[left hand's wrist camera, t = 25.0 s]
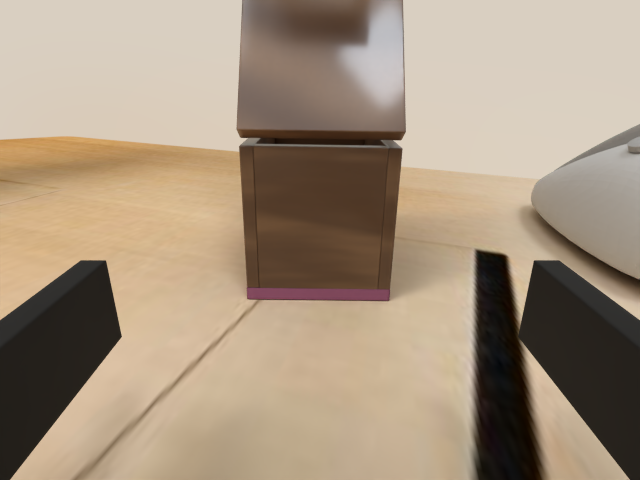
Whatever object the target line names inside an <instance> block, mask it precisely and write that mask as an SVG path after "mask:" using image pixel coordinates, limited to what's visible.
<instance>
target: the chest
mask: <svg viewBox="0 0 640 480" xmlns="http://www.w3.org/2000/svg"><path fill="white" fill-rule="evenodd" d="M239 150H240V168H241V186H242V203H243V221H244V238H245V256H246V274H247V298H248V299H306V300H389V296H390V281H391V270H392V259H393V248H394V237H395V225H396V214H397V203H398V192H399V181H400V170H401V159H402V148H401V147H400V146H399V145H398V144H397V143H395V142H394V141H393V140H351V139H288V138H248V139H247V140H246V141H245V142H243V143H242V144H241V145H240V146H239Z"/></svg>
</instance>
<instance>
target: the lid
mask: <svg viewBox="0 0 640 480" xmlns="http://www.w3.org/2000/svg"><path fill="white" fill-rule="evenodd" d="M237 131H238V133H239V136H240V137H241V138H288V139H351V140H402V138H403V136H404V134H405V132H406V123H405V77H404V30H403V0H242V22H241V43H240V66H239V88H238V110H237Z"/></svg>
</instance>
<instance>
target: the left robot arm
mask: <svg viewBox="0 0 640 480" xmlns="http://www.w3.org/2000/svg"><path fill="white" fill-rule="evenodd" d="M121 337H122V336H121V331H120V326H119V321H118V317H117V312H116V307H115V302H114V297H113V292H112V288H111V283H110V278H109V273H108V268H107V263H106V261H80V262H78V263H77V264H76V265H74V266H73V267H72V268H70V269H69V270H67V271H66V272H65V273H63V274H62V275H61V276H59V277H58V278H57V279H55V280H54V281H53V282H51V283H50V284H49V285H47V286H46V287H45V288H43V289H42V290H41V291H39V292H38V293H37V294H35V295H34V296H32V297H31V298H30V299H28V300H27V301H26V302H24V303H23V304H22V305H20V306H19V307H18V308H16V309H15V310H14V311H12V312H11V313H10V314H8V315H7V316H6V317H4V318H3V319H1V320H0V480H10V479H11V478H12V476H13V475H14V474H15V473H16V471H17V470H18V469H19V467H20V466H21V465H22V464H23V462H24V461H25V460H26V459H27V457H28V456H29V455H30V453H31V452H32V451H33V450H34V448H35V447H36V446H37V444H38V443H39V442H40V441H41V439H42V438H43V437H44V435H45V434H46V433H47V432H48V430H49V429H50V428H51V427H52V425H53V424H54V423H55V421H56V420H57V419H58V418H59V416H60V415H61V414H62V412H63V411H64V410H65V409H66V407H67V406H68V405H69V403H70V402H71V401H72V400H73V398H74V397H75V396H76V395H77V393H78V392H79V391H80V389H81V388H82V387H83V386H84V384H85V383H86V382H87V380H88V379H89V378H90V377H91V375H92V374H93V373H94V372H95V370H96V369H97V368H98V366H99V365H100V364H101V363H102V361H103V360H104V359H105V357H106V356H107V355H108V354H109V352H110V351H111V350H112V348H113V347H114V346H115V345H116V343H117V342H118V341H119V340H120V338H121ZM518 337H519V338H520V340H521V341H522V342H523V343H524V345H525V346H526V347H527V348H528V350H529V351H530V352H531V354H532V355H533V356H534V357H535V359H536V360H537V361H538V363H539V364H540V365H541V366H542V368H543V369H544V370H545V372H546V373H547V374H548V375H549V377H550V378H551V379H552V380H553V382H554V383H555V384H556V386H557V387H558V388H559V389H560V391H561V392H562V393H563V395H564V396H565V397H566V398H567V400H568V401H569V402H570V403H571V405H572V406H573V407H574V409H575V410H576V411H577V412H578V414H579V415H580V416H581V418H582V419H583V420H584V421H585V423H586V424H587V425H588V427H589V428H590V429H591V430H592V432H593V433H594V434H595V435H596V437H597V438H598V439H599V441H600V442H601V443H602V444H603V446H604V447H605V448H606V450H607V451H608V452H609V453H610V455H611V456H612V457H613V459H614V460H615V461H616V462H617V464H618V465H619V466H620V467H621V469H622V470H623V471H624V473H625V474H626V475H627V476H628V478H629V479H630V480H640V320H639V319H637V318H636V317H634V316H633V315H632V314H630V313H629V312H628V311H626V310H625V309H624V308H622V307H621V306H620V305H618V304H617V303H616V302H614V301H613V300H612V299H610V298H609V297H608V296H606V295H605V294H603V293H602V292H601V291H599V290H598V289H597V288H595V287H594V286H593V285H591V284H590V283H589V282H587V281H586V280H585V279H583V278H582V277H581V276H579V275H578V274H577V273H575V272H574V271H573V270H571V269H570V268H568V267H567V266H566V265H564V264H563V263H562V262H560V261H534V263H533V268H532V273H531V278H530V283H529V288H528V292H527V297H526V302H525V307H524V312H523V317H522V321H521V326H520V331H519V336H518Z"/></svg>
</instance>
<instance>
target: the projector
mask: <svg viewBox="0 0 640 480" xmlns="http://www.w3.org/2000/svg"><path fill="white" fill-rule="evenodd" d="M531 202H532V205H533V206H534V208H535V209H536V211H537V212H538V213H539V214H540V215H541V216H542V218H543V219H544V220H545V221H547V222H548V223H549V224H550V225H551V226H552V227H553V228H554V229H556V230H557V231H558V232H559V233H561V234H562V235H563V236H565V237H566V238H567V239H569V240H570V241H572V242H573V243H575V244H576V245H577V246H579V247H580V248H582V249H583V250H585V251H586V252H588V253H590V254H591V255H593V256H595V257H596V258H598V259H600V260H601V261H603V262H605V263H606V264H608V265H610V266H612V267H614V268H616V269H617V270H619V271H621V272H623V273H625V274H628V275H630V276H632V277H634V278H637V279H639V280H640V124H639V125H637V126H635V127H633V128H631V129H628V130H626V131H624V132H622V133H620V134H618V135H616V136H614V137H612V138H610V139H608V140H606V141H604V142H603V143H601V144H599V145H597V146H595V147H593V148H591V149H590V150H588V151H586V152H584V153H582V154H581V155H579V156H577V157H576V158H574V159H572V160H570V161H569V162H567V163H566V164H564V165H562V166H561V167H559V168H558V169H556V170H555V171H553V172H552V173H550V174H548V175H546V176H545V177H543V178H542V179H540V180H539V181H538V182H537V183H536V184H535V186H534V188H533V191H532V195H531Z"/></svg>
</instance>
